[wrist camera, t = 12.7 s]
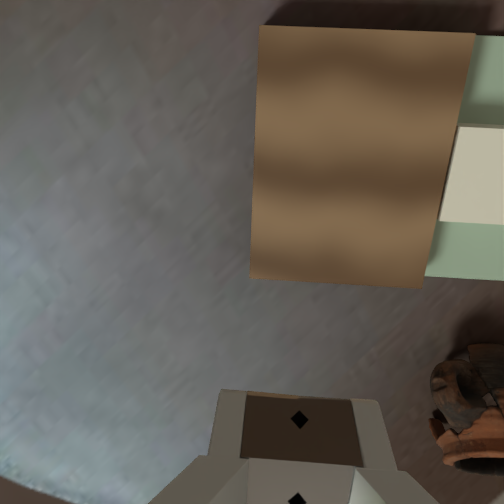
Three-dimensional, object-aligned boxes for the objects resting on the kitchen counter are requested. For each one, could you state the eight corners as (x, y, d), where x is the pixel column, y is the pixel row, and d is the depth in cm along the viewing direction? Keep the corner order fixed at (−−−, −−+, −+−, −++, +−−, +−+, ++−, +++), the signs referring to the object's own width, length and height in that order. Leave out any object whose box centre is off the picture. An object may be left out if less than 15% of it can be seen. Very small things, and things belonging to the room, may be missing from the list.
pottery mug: (564, 365, 37) (597, 476, 32) (460, 389, 43) (474, 484, 39) (474, 311, 32) (496, 432, 27) (372, 347, 39) (375, 450, 34)
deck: (261, 27, 28) (259, 25, 26) (459, 35, 27) (475, 33, 25) (251, 263, 34) (249, 278, 32) (412, 272, 34) (421, 288, 31)
